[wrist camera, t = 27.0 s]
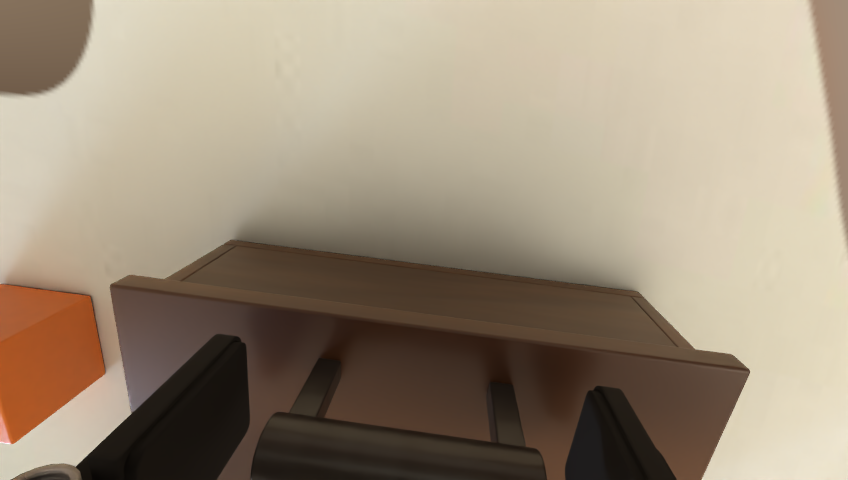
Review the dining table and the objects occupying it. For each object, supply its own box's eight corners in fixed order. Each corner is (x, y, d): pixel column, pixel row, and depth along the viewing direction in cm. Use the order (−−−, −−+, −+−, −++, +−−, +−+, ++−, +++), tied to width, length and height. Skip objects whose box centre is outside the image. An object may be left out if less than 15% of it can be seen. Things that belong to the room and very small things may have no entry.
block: (1, 283, 19) (-132, 335, 15) (91, 295, 19) (-17, 351, 15) (23, 361, 21) (-93, 429, 16) (106, 373, 20) (13, 445, 16)
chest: (230, 239, 17) (133, 296, 12) (638, 291, 17) (723, 375, 12) (245, 481, 22) (180, 598, 17) (562, 529, 22) (597, 666, 16)
